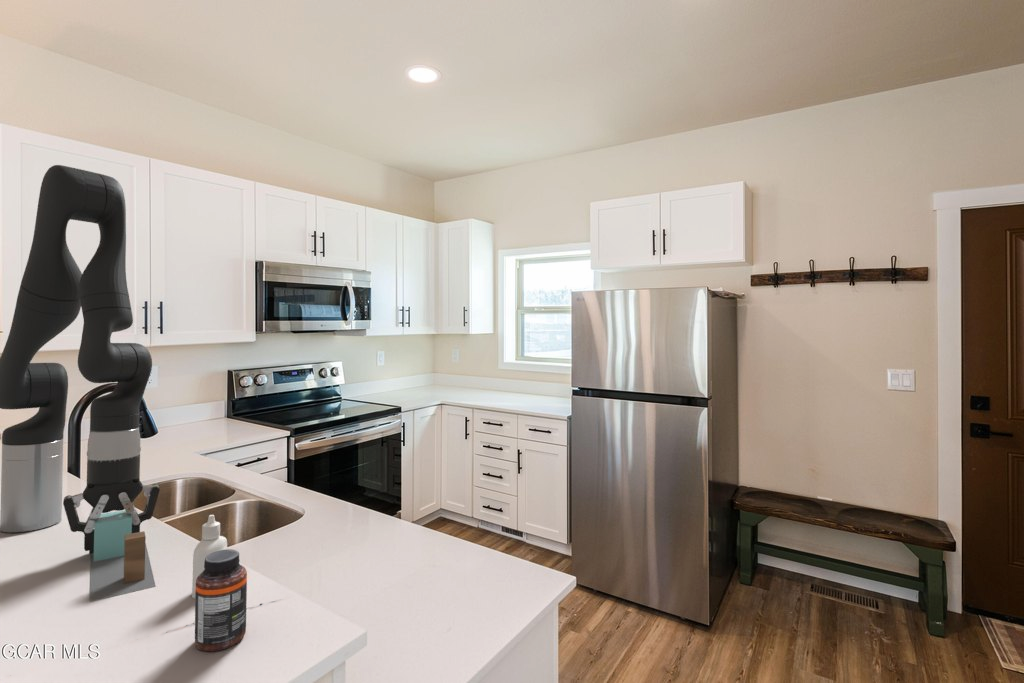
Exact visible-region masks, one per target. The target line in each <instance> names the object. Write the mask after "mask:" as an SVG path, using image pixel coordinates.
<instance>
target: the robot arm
mask: <svg viewBox="0 0 1024 683" xmlns="http://www.w3.org/2000/svg"><path fill="white" fill-rule="evenodd" d="M126 207H127V206H126V199H125V192H124V189H123V187H122V185H121V183H120V182H119V181H118V180H117V179H115V178H114V177H112V176H109V175H105V174H101V173H98V172H94V171H90V170H85V169H81V168H75V167H71V166H67V165H61V164H54V165H52V166H50V167H49V168H48V169H47V171H46V172H45V173H44V176H43V177H42V180H41V185H40V190H39V196H38V201H37V209H36V216H35V224H34V232H33V238H32V243H31V247H30V252H29V254H28V258H27V261H26V265H25V268H24V272H23V275H22V279H21V283H20V285H19V290H18V294H17V298H16V303H15V308H14V313H13V317H12V322H11V326H10V329H9V333H8V336H7V340H6V341H5V344H4V348H3V351H2V353H1V355H0V410H25V409H35V408H36V409H37V408H39V409H38V411H37V412H36V414H34V415H33V416H31V417H30V418H28V419H26V420H24V421H22V422H19V423H17V424H13V425H11V426H8V427H7V428H5V429H4V430H3V431H2V435H1V471H0V472H1V474H0V475H1V477H0V478H1V479H0V531H1V532H4V533H23V532H24V533H25V532H31V531H36V530H41V529H44V528H49V527H50V526H53V525H57V524H58V523H59V522H61V521H62V515H63V514H62V512H63V508H64V511H65V514H66V518H67V521H68V526H69V528H70V529H69V530H70V531H71V532H73V533H76V532H80V533H83V534H84V536H83V537H84V540H83V541H84V542H83V543H84V544H83V545H84V546H83V549H84V551H85V552H88V553H89V555H91V553H94V521H98V519H99V517H100V515H101V514H105V513H111V512H114V511H115V512H118V511H124V510H125V511H126V513H127V515H128V516H131V515H132V533H137V532H141V524H142V523H143V522H144V521H147V520H151V519H152V518H153V516H154V511H155V508H156V506H157V505H156V504H157V500H158V497H159V493H160V487H159V484H157V483H153V484H152V485H151V484H150V485H149V484H143V483H142V482H141V480H140V479H141V478H140V476H141V474H140V473H141V451H142V446H141V434H140V433H141V432H140V406H141V402H142V400H143V397H144V394H145V390H146V388H147V385H148V382H149V379H150V376H151V373H152V370H153V359H152V355H151V353H150V351H149V350H148V348H147V347H146V346H145V345H143V344H140V343H136V342H111V338H112V337H111V336H112V334H113V333H117V332H121V331H126V330H127V329H129V328H131V327H132V326H133V322H134V317H133V312H132V305H131V300H130V293H129V289H128V282H127V272H126V270H127V268H126V265H127V264H126V255H127V254H126V252H127V249H126V248H127V221H126V220H127V216H126V215H127V213H126V212H127V208H126ZM70 220H71V221H72V220H73V221H78V222H86V223H92V224H96V225H97V226H98V228H99V229H98V230H99V237H100V238H99V244H98V247H97V249H96V251H95V253H94V255H93V256H92V258H91V259H90V260H89V262H88V263H87V265H86V267H85V268H84V270H83V272H82V271H81V269H80V267H79V265H78V264H77V262H76V260H75V258H74V257H73V255H72V253H71V251H70V248H69V246H68V244H67V229H68V228H67V227H68V224H69V221H70ZM80 311H81V312H82V318H83V319H82V320H83V326H82V333H81V340H80V346H79V349H78V356H77V367H78V371H79V373H80V374H81V376H82V377H83V378H84V379H85V380H87V381H88V382H90V383H92V384H107V383H108V384H109V383H117V384H116V385H115V387H114V389H113V391H112V392H109V393H108V394H104V395H102V396H99V397H96V398H94V399H93V400H92V401H91V403H90V408H89V409H90V410H89V412H90V413H89V414H90V415H89V416H90V418H89V419H90V420H89V435H88V440H87V451H86V456H87V457H86V459H87V460H86V486H85V488H84V490H83V492H81V493H78V494H74V495H70V494H69V495H66V496H64V497H63V479H64V478H63V476H64V475H63V474H64V473H63V472H64V467H63V466H64V431H65V427H66V416H67V414H66V412H67V402H68V394H69V392H68V391H69V377H68V372H67V370H66V368H65V366H64V365H62V364H61V363H59V362H32V360H33V358H34V356H35V355H37V353H38V352H39V350H40V349H41V348H43V347H44V346H45V345H46V344H47V343H49V342H50V341H52V340H53V339H54V338H55V337H57V336H58V335H59V334H61V333H62V332H64V330H66V329H67V328H68V327H69V326H70V325H72V324H73V323H74V322H75V321H76V319H77V318H78V315H79V314H80ZM142 492H143V493H144V494H143V495H144V497H145V498H146V503H145V507H144V510H143V512H140V513H139V512H138V511H137V509H136V507H135V505H134V503H133V502H134V501H135V500H136V499H137V497H138V496H139V495H140V494H141V493H142ZM83 500H84V501H85V502H86V503H88V504H89V505H90V506H91V507H92V509H91V511H90V513H89V516H88V518H87V520H86V521H84V522H83V521H80V517H79V514H78V510H77V509H78V508H79V507H80V505H81V501H83Z"/></svg>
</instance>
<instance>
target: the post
mask: <svg viewBox="0 0 1024 683" xmlns="http://www.w3.org/2000/svg"><path fill="white" fill-rule="evenodd" d="M146 537H147V536H146V533H145V530H144V531H140V532H137V533H132V534H126V535H125V542H124V584H127V583H131V582H136V581H140V580H145V542H146Z"/></svg>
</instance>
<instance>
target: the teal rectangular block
mask: <svg viewBox="0 0 1024 683" xmlns="http://www.w3.org/2000/svg"><path fill="white" fill-rule="evenodd" d="M126 534H132V515H131V516H128V515H127V513H126V511H125V509H124V510H120V511H110V512H107V513H101V515H100V517H99V519H98V521H94V562H95V561H100V560H105V559H110V558H115V557H120V556H124V542H125V535H126Z"/></svg>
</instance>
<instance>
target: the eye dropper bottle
mask: <svg viewBox="0 0 1024 683" xmlns="http://www.w3.org/2000/svg"><path fill="white" fill-rule="evenodd" d="M201 526H202V527H201V540H200V542H198V544H197V545H196V547H195V548H194V550H193V554H192V558H193V559H192V587H191V592H192V593H191V597H192V599H195V597H196V595H195V593H196V590H195V589H196V579H197V577H198V576H199V575H200V573H202V572H203V571H204V569H205V568H204V562H205V557H206V556H207V555H209V554H210V553H213V552H215V551H219V550H226V549H228V539H227V538H226V537H225V536H223V535H221V523H220V521H216V519H215V515H214V514H209V515H208V519H207V522H205V523H204V524H202V525H201Z"/></svg>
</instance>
